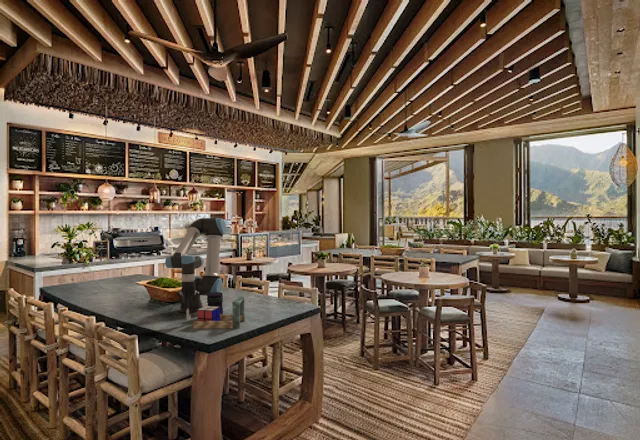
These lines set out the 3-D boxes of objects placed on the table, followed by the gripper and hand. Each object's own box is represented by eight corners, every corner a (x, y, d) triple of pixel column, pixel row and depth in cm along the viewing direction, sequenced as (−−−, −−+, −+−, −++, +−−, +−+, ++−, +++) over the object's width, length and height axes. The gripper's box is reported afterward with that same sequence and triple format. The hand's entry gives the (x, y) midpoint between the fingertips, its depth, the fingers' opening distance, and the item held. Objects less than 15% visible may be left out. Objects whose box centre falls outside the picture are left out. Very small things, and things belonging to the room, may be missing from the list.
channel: (193, 328, 221) (192, 302, 221) (201, 321, 236) (200, 296, 236) (239, 328, 222) (239, 302, 221) (244, 320, 237) (244, 296, 236)
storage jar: (217, 314, 253) (216, 291, 253) (226, 316, 247) (226, 293, 247) (204, 317, 246) (203, 294, 246) (213, 319, 240) (212, 296, 239)
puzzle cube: (212, 327, 223) (212, 310, 223) (196, 326, 225) (196, 309, 225) (220, 322, 233) (220, 306, 233) (205, 322, 235) (205, 305, 235)
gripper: (175, 281, 225) (175, 321, 225) (197, 281, 225) (197, 321, 225) (179, 279, 232) (180, 318, 233) (201, 279, 232) (201, 318, 233)
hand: (188, 319), depth 229 cm, fingers closed
